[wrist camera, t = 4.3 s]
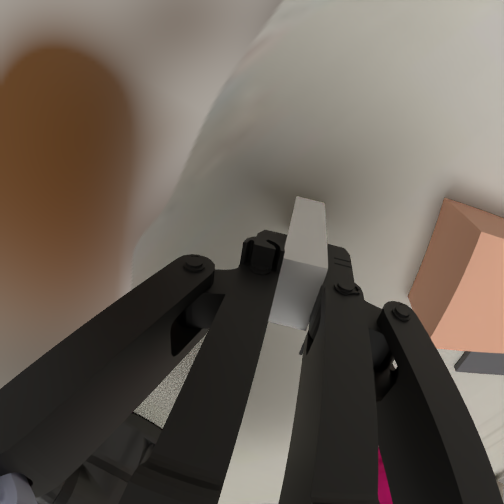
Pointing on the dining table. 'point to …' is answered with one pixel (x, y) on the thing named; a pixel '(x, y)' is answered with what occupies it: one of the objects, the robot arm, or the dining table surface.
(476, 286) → the terracotta block
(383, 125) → the dining table surface
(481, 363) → the mats
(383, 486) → the pepper mill
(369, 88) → the dining table surface
